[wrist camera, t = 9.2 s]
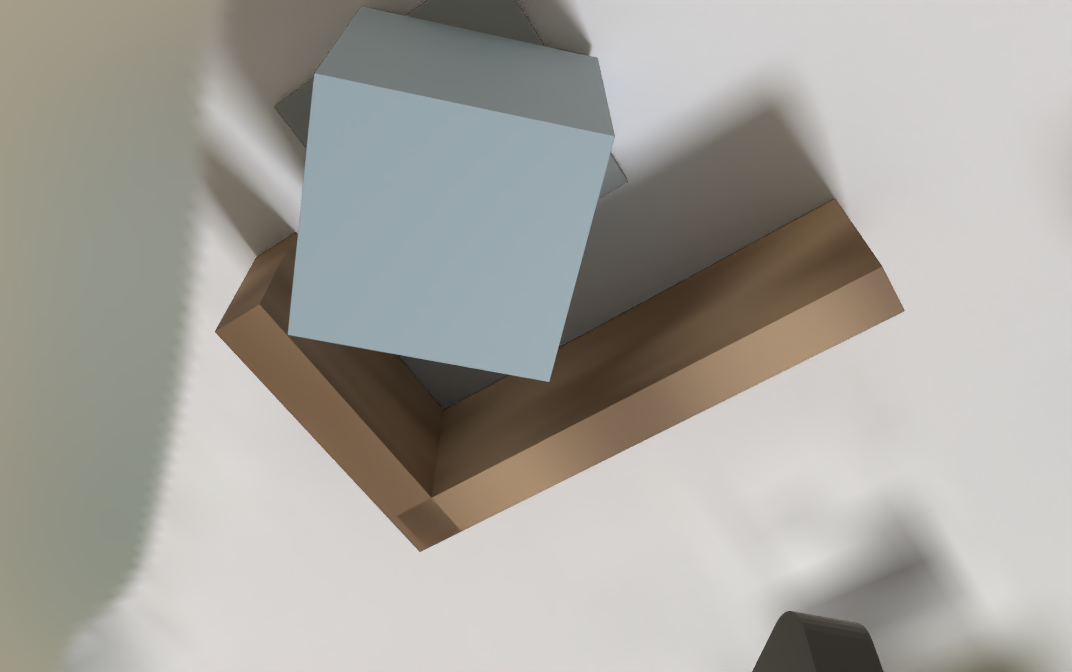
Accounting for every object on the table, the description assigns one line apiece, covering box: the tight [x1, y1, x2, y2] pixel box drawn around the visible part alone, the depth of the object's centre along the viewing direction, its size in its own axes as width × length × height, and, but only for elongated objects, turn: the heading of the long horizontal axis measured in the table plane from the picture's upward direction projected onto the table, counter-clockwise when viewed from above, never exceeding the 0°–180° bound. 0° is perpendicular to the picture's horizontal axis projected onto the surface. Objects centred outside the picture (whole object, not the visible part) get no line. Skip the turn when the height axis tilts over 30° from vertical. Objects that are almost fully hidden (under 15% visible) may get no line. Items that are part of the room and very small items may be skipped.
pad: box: [274, 0, 627, 199], centre depth 22 cm, size 6×6×1 cm
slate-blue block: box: [288, 6, 615, 382], centre depth 19 cm, size 5×5×5 cm
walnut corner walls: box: [215, 199, 905, 552], centre depth 22 cm, size 12×7×4 cm, turn 122°
